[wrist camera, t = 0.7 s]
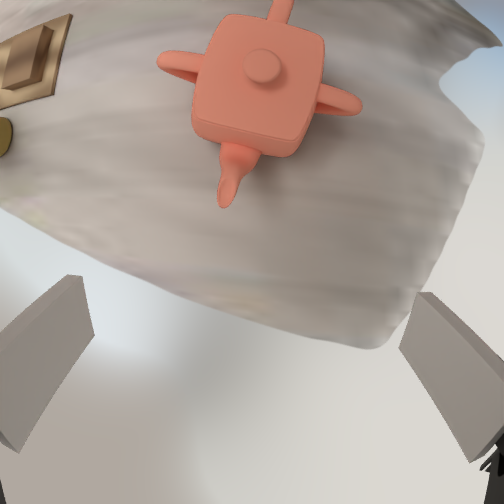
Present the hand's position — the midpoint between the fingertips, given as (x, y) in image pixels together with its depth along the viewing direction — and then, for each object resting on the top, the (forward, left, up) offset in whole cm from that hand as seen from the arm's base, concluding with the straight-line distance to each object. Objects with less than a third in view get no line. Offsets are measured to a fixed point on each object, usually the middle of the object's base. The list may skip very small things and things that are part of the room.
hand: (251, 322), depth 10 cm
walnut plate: (-22, -35, -25) cm, 49 cm away
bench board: (-22, -40, -26) cm, 53 cm away
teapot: (-12, 0, -26) cm, 29 cm away
